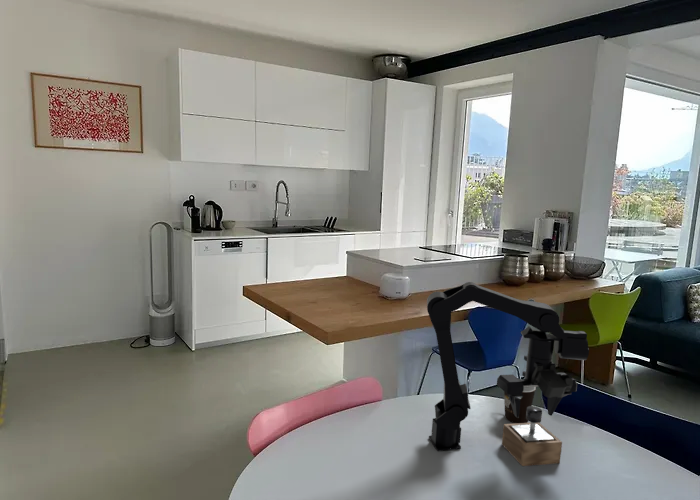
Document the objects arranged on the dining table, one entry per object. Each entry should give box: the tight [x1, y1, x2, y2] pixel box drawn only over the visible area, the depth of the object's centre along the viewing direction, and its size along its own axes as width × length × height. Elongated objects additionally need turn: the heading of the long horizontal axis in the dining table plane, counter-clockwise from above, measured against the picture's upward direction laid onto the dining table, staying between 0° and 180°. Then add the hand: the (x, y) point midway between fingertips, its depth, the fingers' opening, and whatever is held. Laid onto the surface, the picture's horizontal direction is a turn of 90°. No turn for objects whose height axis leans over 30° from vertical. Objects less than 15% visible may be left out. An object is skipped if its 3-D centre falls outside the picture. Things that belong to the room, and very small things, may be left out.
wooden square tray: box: [501, 422, 563, 467], centre depth 125 cm, size 10×10×6 cm
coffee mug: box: [503, 387, 537, 424], centre depth 144 cm, size 12×9×10 cm
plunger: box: [511, 405, 554, 443], centre depth 124 cm, size 7×7×7 cm
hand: (533, 415), depth 124 cm, fingers open, 9 cm apart
